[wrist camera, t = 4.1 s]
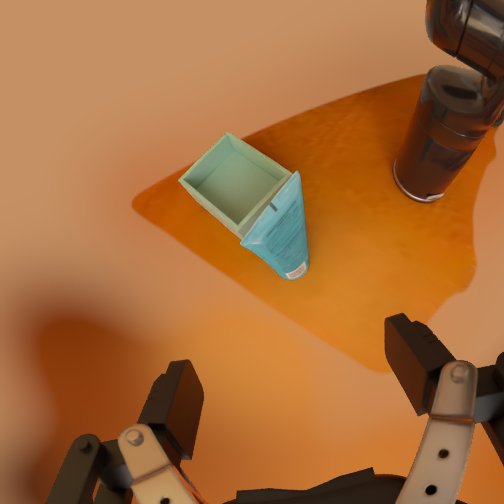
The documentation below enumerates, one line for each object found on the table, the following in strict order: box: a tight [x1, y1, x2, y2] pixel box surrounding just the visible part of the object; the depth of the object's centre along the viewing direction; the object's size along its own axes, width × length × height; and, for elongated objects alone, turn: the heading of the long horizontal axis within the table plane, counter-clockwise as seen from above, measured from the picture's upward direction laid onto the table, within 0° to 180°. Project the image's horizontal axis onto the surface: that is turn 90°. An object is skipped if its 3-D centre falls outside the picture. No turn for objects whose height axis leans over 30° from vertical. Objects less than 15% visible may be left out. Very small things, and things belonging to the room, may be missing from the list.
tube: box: [240, 171, 309, 280], centre depth 31 cm, size 7×5×19 cm, turn 147°
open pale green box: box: [178, 132, 292, 240], centre depth 41 cm, size 10×12×7 cm
